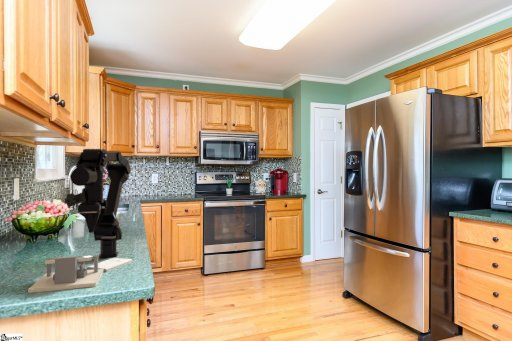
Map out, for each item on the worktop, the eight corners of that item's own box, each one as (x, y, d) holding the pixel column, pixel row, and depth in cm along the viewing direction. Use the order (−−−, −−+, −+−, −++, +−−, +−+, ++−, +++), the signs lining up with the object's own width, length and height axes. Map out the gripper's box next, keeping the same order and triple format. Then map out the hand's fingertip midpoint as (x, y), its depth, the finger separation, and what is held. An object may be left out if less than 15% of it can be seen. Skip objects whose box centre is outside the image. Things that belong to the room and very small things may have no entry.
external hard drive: (86, 271, 103) (113, 261, 115) (106, 274, 101) (132, 263, 113) (86, 266, 103) (113, 257, 115) (106, 268, 101) (132, 258, 113)
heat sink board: (46, 276, 96) (46, 250, 96) (103, 271, 101) (103, 246, 101) (28, 293, 83) (28, 262, 83) (95, 286, 88) (95, 257, 88)
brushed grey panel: (53, 258, 95) (44, 260, 88) (93, 255, 98) (88, 257, 91) (53, 262, 95) (44, 264, 87) (93, 259, 98) (88, 261, 91)
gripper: (74, 184, 115) (74, 227, 115) (59, 186, 97) (58, 236, 97) (107, 184, 118) (107, 225, 118) (99, 185, 101) (98, 234, 100)
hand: (93, 230), depth 108 cm, fingers open, 9 cm apart
